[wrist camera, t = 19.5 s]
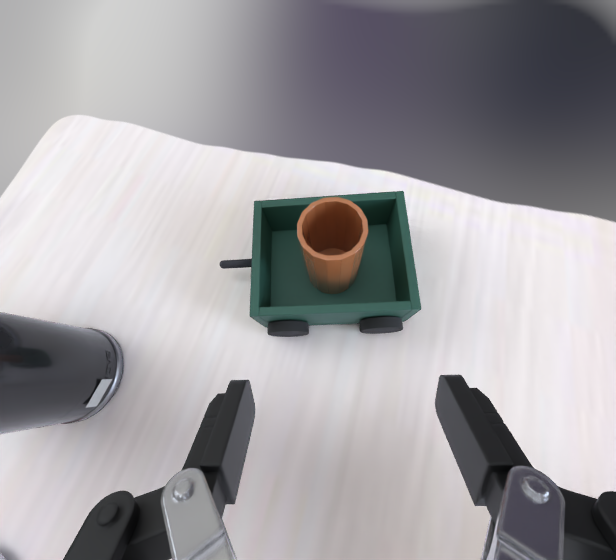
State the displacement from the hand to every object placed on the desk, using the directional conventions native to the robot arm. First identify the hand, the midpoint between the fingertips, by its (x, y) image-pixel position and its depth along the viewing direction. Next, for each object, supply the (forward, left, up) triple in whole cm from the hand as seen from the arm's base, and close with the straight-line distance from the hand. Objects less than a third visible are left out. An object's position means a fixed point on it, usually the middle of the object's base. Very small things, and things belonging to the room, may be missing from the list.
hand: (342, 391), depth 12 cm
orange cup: (0, +11, -16) cm, 20 cm away
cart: (0, +11, -17) cm, 20 cm away
